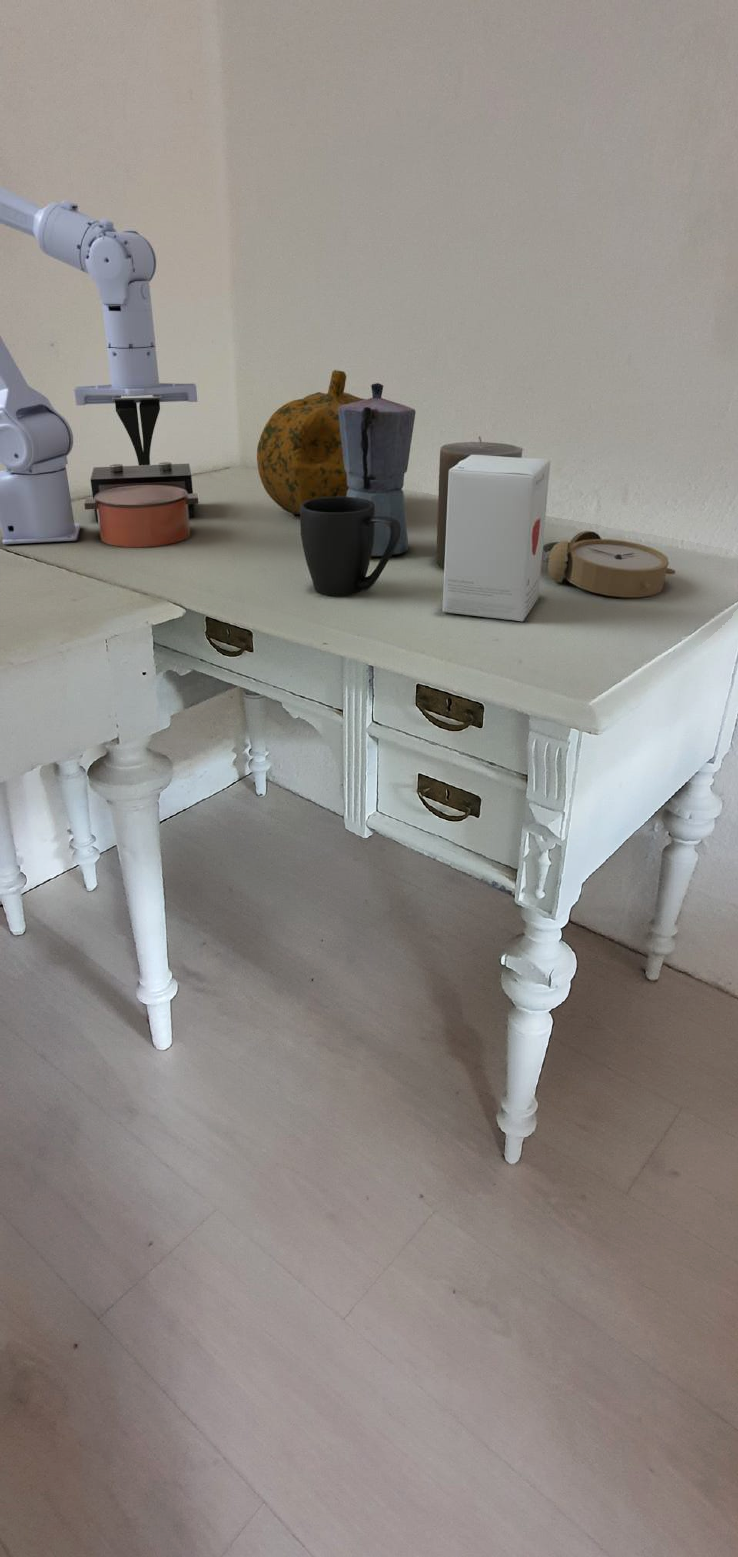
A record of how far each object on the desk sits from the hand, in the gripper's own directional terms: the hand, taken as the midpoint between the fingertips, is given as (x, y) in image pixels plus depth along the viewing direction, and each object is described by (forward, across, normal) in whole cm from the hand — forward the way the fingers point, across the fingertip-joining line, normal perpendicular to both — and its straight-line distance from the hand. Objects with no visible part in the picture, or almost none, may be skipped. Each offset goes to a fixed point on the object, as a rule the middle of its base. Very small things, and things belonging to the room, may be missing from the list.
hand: (144, 463), depth 122 cm
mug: (+11, +22, -25) cm, 35 cm away
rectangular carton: (+11, +36, -33) cm, 50 cm away
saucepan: (+10, -1, +6) cm, 12 cm away
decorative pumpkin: (+11, +26, +13) cm, 31 cm away
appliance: (+10, -1, +19) cm, 22 cm away
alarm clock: (+11, +51, -27) cm, 59 cm away
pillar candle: (+11, +39, -17) cm, 44 cm away
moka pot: (+11, +28, -9) cm, 31 cm away
